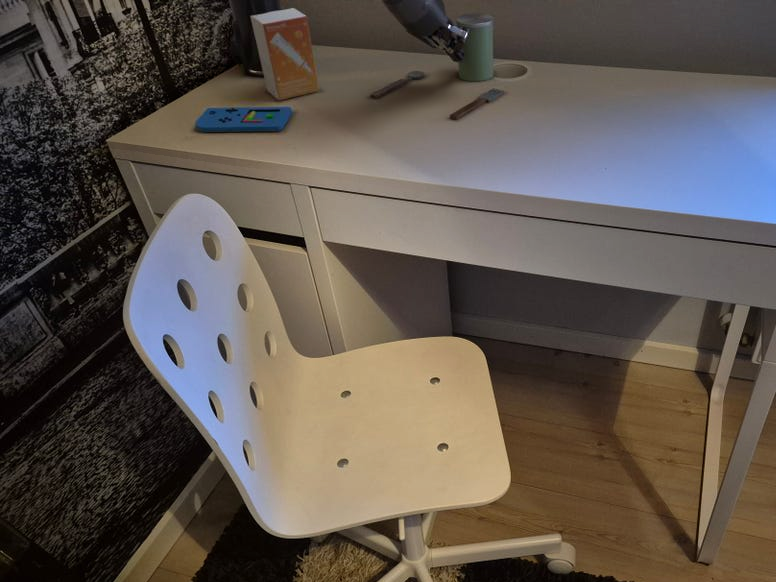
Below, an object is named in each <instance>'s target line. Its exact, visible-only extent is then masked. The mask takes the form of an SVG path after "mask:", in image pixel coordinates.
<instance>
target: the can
mask: <svg viewBox="0 0 776 582" xmlns="http://www.w3.org/2000/svg"><path fill="white" fill-rule="evenodd" d="M455 24H456V28H458V29H459V28H463V27H467V28H469V33H468V35H467V38H466V40H465V43H464V45H463V47H462V49H463V50H464V51H465V56H464V58H463V61H462V62H461V63H459V62H457V63H458V64H457V65H458V77H459V79H461V80H463V81H467V82H484V81H487V80H490V79H491V78H493V76H494V17H493V16H492V15H490V14H487V13H481V12H480V13H478V12H471V13H465V14H461V15H458V16H457V17H456V19H455Z"/></svg>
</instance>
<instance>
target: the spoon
mask: <svg viewBox="0 0 776 582" xmlns="http://www.w3.org/2000/svg"><path fill="white" fill-rule="evenodd" d="M424 78H425V72H424V71H422V70H412V71H409V72H408V73H407V77H406V78H401V79H398V80H396V81H394V82H392V83H391V84H388V85H386V86H384V87H382V88H380V89H378V90H376V91H374V92H372V93H370V94H369V97H370V98H371V99H375V100H378V99H379V98H381V97H383V96H385V95H387V94H389V93H391V92H393V91H395V90H397V89H399V88H401V87H403V86H405V85H407V84H408V83H409V82H410V81H412V80H413V81H417V80H418V81H419V80H422V79H424Z"/></svg>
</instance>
